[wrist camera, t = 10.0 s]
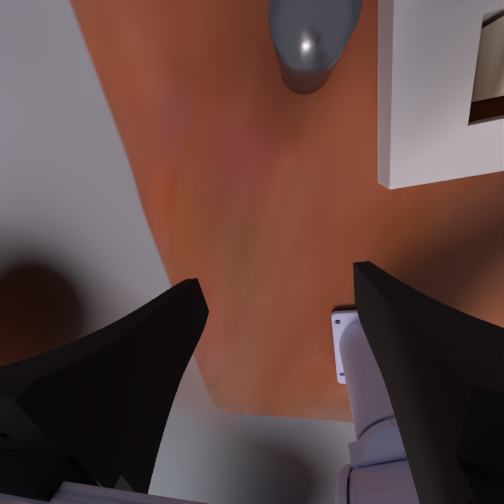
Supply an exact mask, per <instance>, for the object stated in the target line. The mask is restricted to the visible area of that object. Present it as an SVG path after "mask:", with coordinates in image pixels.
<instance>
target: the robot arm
mask: <svg viewBox="0 0 504 504" xmlns="http://www.w3.org/2000/svg"><path fill="white" fill-rule="evenodd" d="M353 270H354V293H355V305H356V309H357V310H346V311H334V312H332V314H331V320H332V330H333V340H334V351H335V361H336V372H337V380H338V382H339V383H341V384H346V386H347V391H348V396H349V401H350V406H351V411H352V416H353V421H354V426H355V432H356V437H357V441H355V442H352V443H349V444H348V448H349V454H350V460H351V464H346V465H345V466H344V467H342V469H341V471H340V474H339V477H338V484H337V489H336V497H335V500H336V501H335V504H504V328H502V327H500V326H497V325H494V324H491V323H489V322H486V321H483V320H481V319H478V318H475V317H473V316H470V315H468V314H465V313H463V312H460V311H458V310H456V309H454V308H451V307H449V306H447V305H445V304H442V303H440V302H438V301H436V300H434V299H432V298H430V297H428V296H426V295H424V294H422V293H420V292H419V291H417V290H415V289H413V288H411V287H409V286H408V285H406V284H404V283H403V282H401V281H399V280H398V279H396V278H394V277H393V276H391V275H390V274H388V273H387V272H385V271H384V270H382V269H380V268H379V267H377V266H376V265H374V264H373V263H371V262H370V261H366V262H356V263H353ZM208 313H209V310H208V307H207V304H206V301H205V298H204V296H203V293H202V290H201V287H200V284H199V281H198V279H197V278H195V279H186V280H184V281H182V282H180V283H178V284H177V285H175V286H173V287H172V288H170V289H169V290H167V291H165V292H164V293H162V294H161V295H159V296H158V297H156V298H155V299H153V300H151V301H150V302H148V303H147V304H145V305H143V306H142V307H140V308H138V309H137V310H135V311H133V312H132V313H130V314H128V315H127V316H125V317H123V318H121V319H119V320H118V321H116V322H114V323H112V324H110V325H108V326H106V327H104V328H102V329H100V330H98V331H96V332H93V333H91V334H89V335H86V336H84V337H82V338H80V339H78V340H76V341H73V342H70V343H68V344H65V345H63V346H60V347H58V348H55V349H52V350H50V351H47V352H45V353H42V354H39V355H36V356H33V357H30V358H27V359H24V360H21V361H18V362H14V363H11V364H8V365H5V366H2V367H0V504H207V503H201V502H195V501H188V500H182V499H175V498H168V497H162V496H156V495H149V494H148V490H149V486H150V482H151V477H152V474H153V470H154V466H155V461H156V457H157V454H158V450H159V447H160V443H161V439H162V436H163V432H164V429H165V426H166V422H167V419H168V416H169V413H170V409H171V407H172V403H173V401H174V397H175V395H176V392H177V389H178V386H179V383H180V381H181V378H182V376H183V373H184V371H185V369H186V367H187V365H188V362H189V360H190V358H191V356H192V354H193V352H194V350H195V348H196V346H197V343H198V341H199V339H200V337H201V335H202V332H203V330H204V327H205V324H206V321H207V317H208ZM336 320H339V321H336Z"/></svg>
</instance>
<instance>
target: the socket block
mask: <svg viewBox="0 0 504 504" xmlns="http://www.w3.org/2000/svg"><path fill="white" fill-rule="evenodd" d="M502 16H504V0H378V111H377V183H379V184H381V185H383V186H384V187H386V188H388V189H395V188H402V187H408V186H414V185H420V184H426V183H432V182H438V181H444V180H450V179H456V178H462V177H469V176H475V175H481V174H487V173H493V172H499V171H504V115H500V116H495V117H491V118H486V119H481V120H476V121H472V122H468V120H469V113H470V105H471V98H472V91H473V84H474V77H475V70H476V62H477V55H478V48H479V41H480V34H481V26H485V25H488V24H491V23H492V22H494V21H496V20H497V19H499V18H501V17H502Z"/></svg>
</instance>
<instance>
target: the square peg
mask: <svg viewBox="0 0 504 504" xmlns="http://www.w3.org/2000/svg"><path fill="white" fill-rule="evenodd" d="M499 96H504V16H502V17H501V18H499V19H497V20H496V21H494V22H492V23H491V24H489V25H487V26H486V27H484V28H482V29H481V34H480V41H479V48H478V55H477V62H476V70H475V77H474V84H473V91H472V98H471V102H475V101H480V100H484V99H489V98H494V97H499Z"/></svg>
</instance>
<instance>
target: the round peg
mask: <svg viewBox="0 0 504 504" xmlns="http://www.w3.org/2000/svg"><path fill="white" fill-rule="evenodd" d="M361 4H362V0H270V3H269V26H270V31H271V35H272V39H273V43H274V47H275V51H276V55H277V59H278V63H279V67H280V71H281V75H282V78H283V80H284V83H285V84H286V86H287V87H288V88H289V89H290V90H291V91H293V92H295V93H297V94H310V93H313V92H315V91H317V90H318V89H320V88H321V87H322V86H323V85H324V84H325V82H326V81H327V80H328V78H329V76H330V74H331V72H332V70H333V68H334V67H335V65H336V63H337V61H338V59H339V57H340V55H341V53H342V51H343V49H344V48H345V46H346V44H347V42H348V40H349V38H350V36H351V34H352V32H353V30H354V28H355V26H356V24H357V21H358V18H359V14H360V10H361Z"/></svg>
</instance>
